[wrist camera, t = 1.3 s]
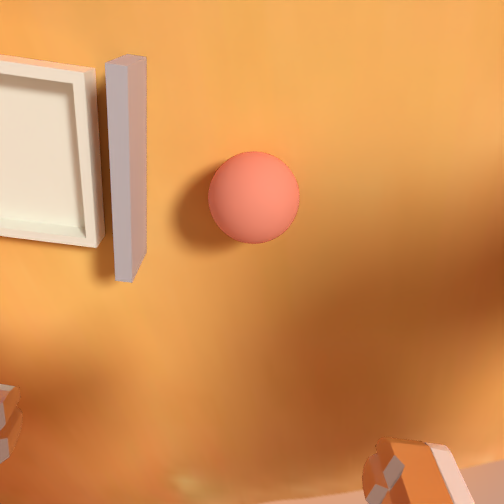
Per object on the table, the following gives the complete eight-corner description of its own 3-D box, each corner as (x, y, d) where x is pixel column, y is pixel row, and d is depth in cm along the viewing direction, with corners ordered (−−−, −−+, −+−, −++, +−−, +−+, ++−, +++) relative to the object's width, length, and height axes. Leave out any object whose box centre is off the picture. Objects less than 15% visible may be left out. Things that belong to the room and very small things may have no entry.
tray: (95, 68, 22) (84, 72, 21) (105, 235, 27) (96, 247, 26) (-104, 39, 21) (-129, 41, 20) (-55, 215, 27) (-72, 226, 25)
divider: (146, 56, 22) (127, 66, 19) (146, 252, 28) (132, 282, 25) (126, 54, 22) (105, 62, 19) (131, 250, 28) (115, 280, 25)
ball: (303, 146, 24) (312, 178, 20) (288, 223, 26) (293, 266, 22) (217, 134, 24) (206, 163, 19) (209, 213, 26) (199, 254, 22)
